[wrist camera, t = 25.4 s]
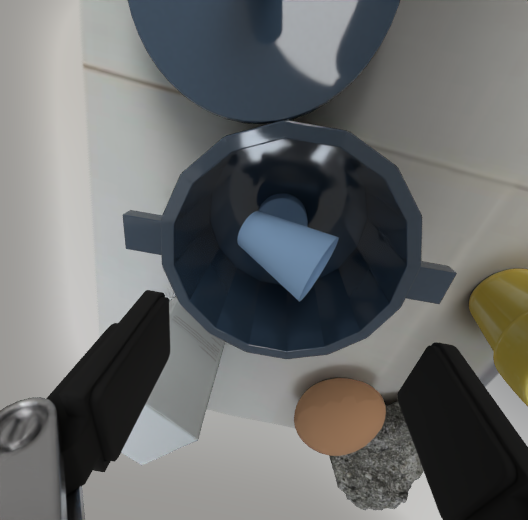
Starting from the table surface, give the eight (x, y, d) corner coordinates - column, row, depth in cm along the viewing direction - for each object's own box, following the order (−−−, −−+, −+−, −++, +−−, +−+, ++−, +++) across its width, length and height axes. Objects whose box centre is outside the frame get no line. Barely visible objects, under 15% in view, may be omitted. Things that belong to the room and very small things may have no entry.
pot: (175, 102, 21) (101, 87, 13) (435, 148, 21) (533, 163, 13) (175, 270, 28) (127, 331, 20) (369, 304, 28) (403, 380, 20)
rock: (412, 400, 31) (429, 401, 38) (314, 394, 38) (343, 397, 45) (439, 555, 25) (454, 523, 32) (317, 513, 32) (350, 494, 39)
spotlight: (333, 209, 23) (260, 179, 23) (360, 260, 15) (242, 214, 14) (309, 255, 26) (242, 229, 25) (320, 324, 17) (217, 287, 16)
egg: (315, 474, 31) (408, 451, 28) (284, 451, 28) (387, 421, 25) (305, 409, 38) (380, 384, 35) (279, 382, 34) (360, 352, 31)
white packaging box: (145, 318, 32) (66, 423, 21) (186, 287, 29) (123, 388, 18) (189, 355, 34) (140, 468, 23) (231, 329, 31) (199, 443, 20)
